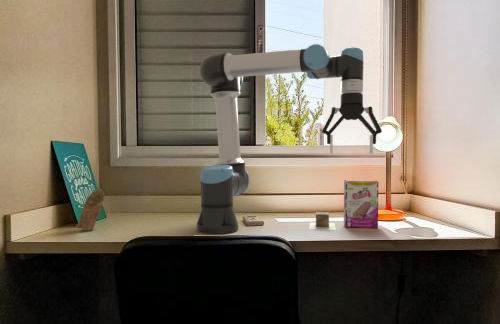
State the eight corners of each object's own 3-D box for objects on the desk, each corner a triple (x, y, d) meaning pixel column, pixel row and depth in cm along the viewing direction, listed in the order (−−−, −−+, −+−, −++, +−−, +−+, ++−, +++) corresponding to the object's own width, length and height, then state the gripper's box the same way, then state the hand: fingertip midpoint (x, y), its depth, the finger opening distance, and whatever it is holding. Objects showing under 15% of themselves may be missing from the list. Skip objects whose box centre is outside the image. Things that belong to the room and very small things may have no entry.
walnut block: (315, 226, 129) (315, 214, 129) (316, 224, 134) (316, 212, 134) (328, 227, 128) (328, 214, 128) (328, 224, 133) (328, 212, 133)
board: (306, 233, 125) (306, 229, 125) (307, 225, 139) (307, 221, 139) (379, 236, 121) (379, 231, 121) (373, 227, 134) (373, 223, 134)
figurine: (74, 231, 134) (73, 190, 133) (93, 227, 141) (92, 188, 140) (90, 233, 130) (89, 191, 129) (109, 229, 137) (108, 189, 137)
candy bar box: (345, 228, 127) (345, 180, 126) (343, 225, 132) (343, 179, 131) (379, 228, 125) (378, 180, 125) (375, 225, 130) (375, 179, 130)
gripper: (315, 92, 128) (314, 153, 129) (391, 90, 123) (390, 153, 124) (316, 95, 135) (315, 153, 136) (387, 94, 130) (386, 153, 131)
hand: (350, 153), depth 130 cm, fingers open, 13 cm apart
